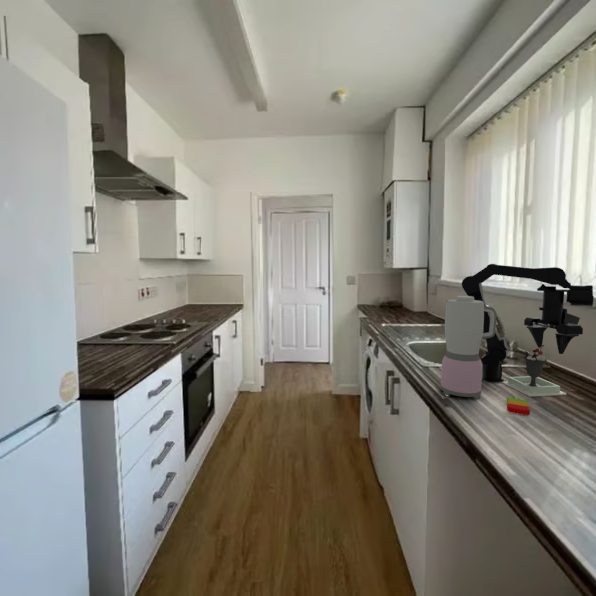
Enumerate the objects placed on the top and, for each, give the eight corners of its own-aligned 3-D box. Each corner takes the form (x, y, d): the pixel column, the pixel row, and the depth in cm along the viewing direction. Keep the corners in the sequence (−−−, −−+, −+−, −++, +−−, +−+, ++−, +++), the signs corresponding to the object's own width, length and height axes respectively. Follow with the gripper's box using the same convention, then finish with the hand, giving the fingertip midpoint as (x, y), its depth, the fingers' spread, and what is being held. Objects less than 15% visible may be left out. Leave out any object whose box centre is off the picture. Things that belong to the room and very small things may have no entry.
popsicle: (507, 413, 104) (507, 407, 104) (506, 396, 117) (506, 390, 117) (529, 417, 102) (530, 411, 101) (526, 399, 115) (526, 394, 115)
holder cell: (529, 396, 116) (530, 389, 116) (502, 382, 129) (502, 376, 128) (566, 394, 117) (566, 387, 117) (535, 381, 130) (536, 374, 130)
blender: (443, 399, 114) (448, 298, 110) (436, 385, 126) (440, 294, 122) (497, 403, 110) (504, 299, 107) (485, 389, 122) (491, 295, 119)
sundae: (549, 390, 120) (553, 346, 118) (529, 390, 120) (532, 346, 118) (536, 384, 126) (539, 342, 124) (517, 383, 126) (520, 341, 125)
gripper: (600, 307, 112) (597, 356, 114) (552, 301, 131) (550, 343, 132) (567, 308, 111) (564, 358, 112) (524, 301, 129) (521, 344, 131)
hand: (550, 350), depth 122 cm, fingers open, 9 cm apart
